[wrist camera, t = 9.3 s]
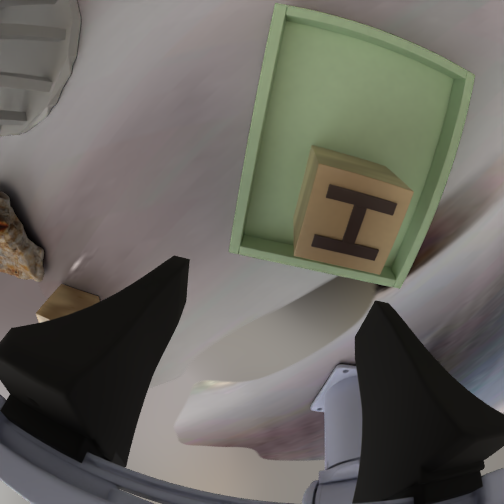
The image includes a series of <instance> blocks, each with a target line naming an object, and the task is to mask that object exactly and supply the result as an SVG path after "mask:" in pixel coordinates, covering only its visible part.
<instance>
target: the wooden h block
mask: <svg viewBox="0 0 504 504" xmlns="http://www.w3.org/2000/svg"><path fill="white" fill-rule="evenodd" d="M413 193H414V191H413V190H412V189H410V188H409V187H408V186H407V185H406V184H405V183H404V182H403V181H402V180H401V179H400V178H398V177H397V176H396V175H395V174H394V173H393V172H392V171H391V170H389V169H388V168H387V167H386V166H384V165H380V164H377V163H374V162H371V161H368V160H364V159H361V158H358V157H354V156H351V155H347V154H344V153H340V152H337V151H333V150H329V149H325V148H321V147H318V146H314V145H312V146H311V149H310V153H309V157H308V161H307V165H306V169H305V173H304V177H303V181H302V185H301V189H300V193H299V197H298V201H297V205H296V209H295V213H294V217H293V236H294V256H296V257H301V258H306V259H310V260H315V261H319V262H324V263H328V264H333V265H337V266H342V267H347V268H351V269H356V270H360V271H365V272H369V273H374V274H378V275H380V274H381V272H382V269H383V267H384V265H385V263H386V260H387V258H388V256H389V254H390V251H391V249H392V247H393V244H394V242H395V240H396V237H397V235H398V232H399V230H400V227H401V225H402V222H403V220H404V217H405V215H406V212H407V209H408V207H409V204H410V201H411V199H412V196H413Z"/></svg>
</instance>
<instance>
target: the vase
mask: <svg viewBox="0 0 504 504" xmlns="http://www.w3.org/2000/svg"><path fill="white" fill-rule="evenodd" d="M80 26H81V16H80V12H79V7H78V3H77V0H0V137H2V136H11V135H20V134H23V133H25V132H28V131H29V130H30V129H31V128H33V127H34V126H35V125H37V124H38V123H39V122H40V121H42V120H43V119H44V118H46V117H47V116H48V114H49V112H50V110H51V108H52V107H53V106H54V105H56V104H57V101H58V99H59V96H60V93H61V91H62V88H63V87H64V85H65V83H66V82H67V80H68V78H69V77H70V75H71V72H72V65H73V63H74V61H75V59H76V57H77V49H78V40H79V33H80Z"/></svg>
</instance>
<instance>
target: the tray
mask: <svg viewBox="0 0 504 504" xmlns="http://www.w3.org/2000/svg"><path fill="white" fill-rule="evenodd" d="M474 79H475V75H474V74H472V73H471V72H469V71H467V70H466V69H464V68H462V67H460V66H458V65H457V64H455V63H453V62H451V61H449V60H447V59H445V58H444V57H442V56H440V55H438V54H436V53H434V52H432V51H429V50H427V49H425V48H423V47H421V46H419V45H416V44H414V43H412V42H410V41H407V40H405V39H402V38H400V37H398V36H395V35H393V34H390V33H387V32H385V31H382V30H379V29H376V28H374V27H371V26H368V25H365V24H362V23H358V22H355V21H352V20H349V19H345V18H342V17H338V16H334V15H331V14H327V13H323V12H318V11H314V10H310V9H305V8H300V7H295V6H287V5H284V4H278V3H275V6H274V11H273V16H272V20H271V25H270V30H269V35H268V39H267V44H266V49H265V54H264V59H263V64H262V69H261V74H260V79H259V84H258V89H257V94H256V99H255V105H254V110H253V115H252V120H251V126H250V131H249V137H248V142H247V147H246V153H245V159H244V164H243V170H242V175H241V181H240V187H239V193H238V198H237V204H236V210H235V216H234V222H233V228H232V234H231V240H230V246H229V252H230V253H235V254H240V255H244V256H249V257H254V258H258V259H263V260H267V261H272V262H277V263H281V264H286V265H291V266H295V267H300V268H305V269H309V270H314V271H319V272H323V273H328V274H333V275H337V276H342V277H347V278H352V279H356V280H361V281H366V282H370V283H375V284H380V285H385V286H389V287H394V288H399V289H400V288H401V286H402V284H403V282H404V280H405V278H406V276H407V274H408V272H409V270H410V268H411V266H412V264H413V262H414V260H415V258H416V256H417V253H418V251H419V249H420V247H421V245H422V242H423V240H424V238H425V236H426V233H427V231H428V229H429V226H430V224H431V222H432V219H433V217H434V214H435V212H436V209H437V207H438V204H439V201H440V199H441V196H442V193H443V191H444V188H445V185H446V182H447V180H448V177H449V174H450V171H451V168H452V165H453V162H454V158H455V155H456V152H457V149H458V145H459V142H460V138H461V135H462V131H463V127H464V124H465V120H466V116H467V112H468V107H469V103H470V99H471V94H472V89H473V84H474ZM312 145H314V146H318V147H321V148H325V149H329V150H333V151H337V152H340V153H344V154H347V155H351V156H354V157H358V158H361V159H364V160H368V161H371V162H374V163H377V164H380V165H384V166H386V167H387V168H388V169H389V170H391V171H392V172H393V173H394V174H395V175H396V176H397V177H398V178H400V179H401V180H402V181H403V182H404V183H405V184H406V185H407V186H408V187H409V188H410V189H412V190H413V191H414V193H413V196H412V199H411V201H410V204H409V207H408V209H407V212H406V215H405V217H404V220H403V222H402V225H401V227H400V230H399V232H398V235H397V237H396V240H395V242H394V244H393V247H392V249H391V251H390V254H389V256H388V258H387V260H386V263H385V265H384V267H383V269H382V272H381V274H380V275H378V274H374V273H369V272H365V271H360V270H356V269H351V268H347V267H342V266H337V265H333V264H328V263H324V262H319V261H315V260H310V259H306V258H301V257H296V256H294V236H293V217H294V213H295V209H296V205H297V201H298V197H299V193H300V189H301V185H302V181H303V177H304V173H305V169H306V165H307V161H308V157H309V153H310V149H311V146H312Z"/></svg>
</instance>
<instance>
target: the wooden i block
mask: <svg viewBox="0 0 504 504" xmlns="http://www.w3.org/2000/svg"><path fill="white" fill-rule="evenodd" d="M98 302H100V300H99V296H96V295H92V294H89V293H86V292H84V291H81V290H78V289H75V288H72V287H69V286H66V285H63V284H61V285H60V286H59V287H58V288H57V290H56V291H55V292H54V293H53V294H52V295H51V296H50V297H49V298H48V300H47V301H46V302H45V303H44V304H43V305H42V306H41V308H40V309H39V310H38V311H37V312H36V316H37V318H38V321H39V323H41V322H45V321H49V320H52V319H56V318H59V317H62V316H66V315H69V314H71V313H74V312H76V311H79V310H82V309H84V308H87V307H89V306H92V305H94V304H96V303H98Z"/></svg>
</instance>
